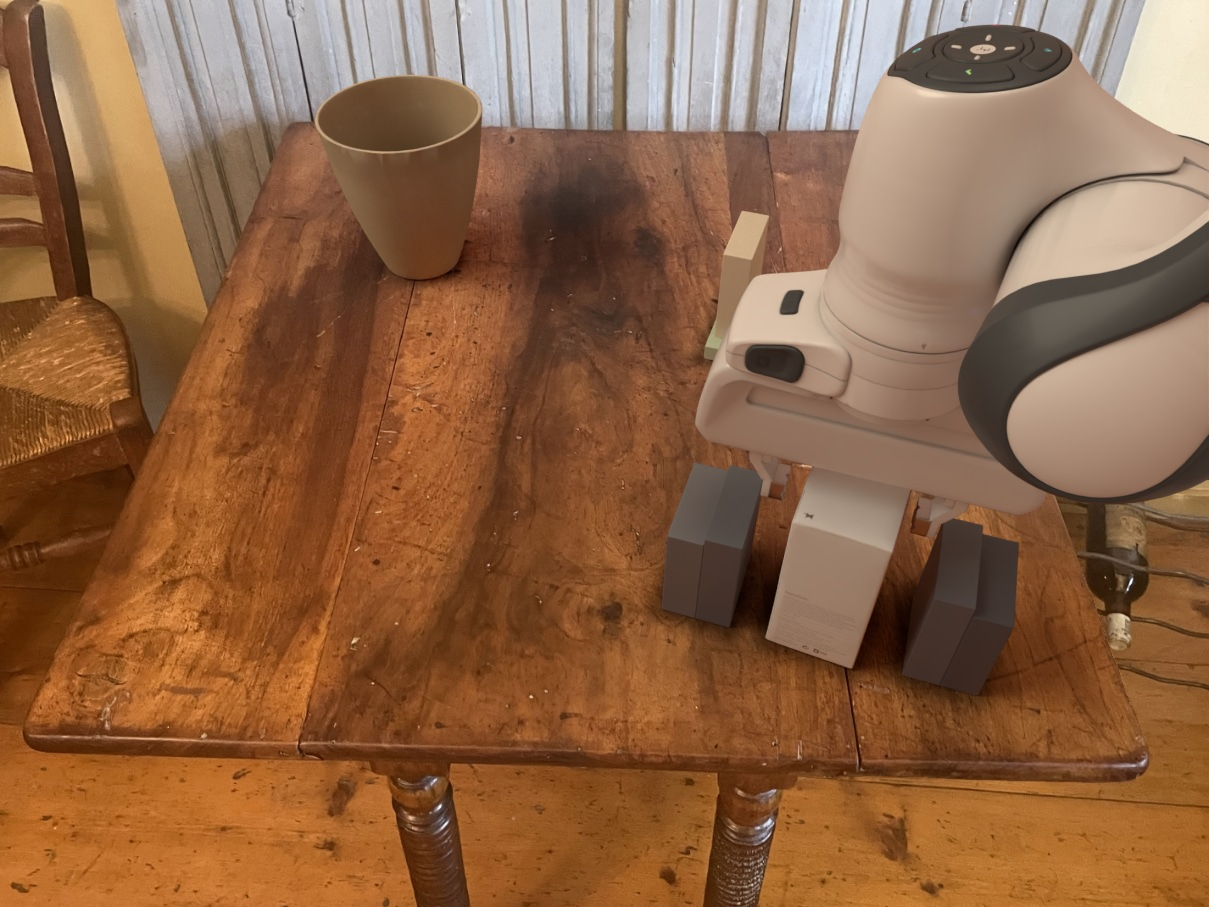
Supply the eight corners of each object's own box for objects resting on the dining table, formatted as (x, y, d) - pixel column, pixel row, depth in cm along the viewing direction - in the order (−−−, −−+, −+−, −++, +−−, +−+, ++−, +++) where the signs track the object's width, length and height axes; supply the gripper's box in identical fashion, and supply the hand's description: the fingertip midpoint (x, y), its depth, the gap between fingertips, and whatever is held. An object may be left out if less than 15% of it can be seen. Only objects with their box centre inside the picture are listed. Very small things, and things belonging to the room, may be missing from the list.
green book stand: (917, 332, 92) (945, 237, 85) (904, 402, 86) (933, 305, 78) (729, 294, 96) (740, 200, 88) (703, 358, 90) (712, 262, 82)
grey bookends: (984, 613, 70) (1023, 534, 64) (977, 696, 66) (1018, 620, 59) (686, 537, 75) (695, 456, 69) (661, 609, 71) (667, 529, 64)
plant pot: (524, 243, 102) (514, 96, 90) (436, 321, 93) (413, 170, 82) (410, 202, 107) (387, 59, 96) (317, 273, 98) (278, 124, 87)
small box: (852, 672, 67) (894, 554, 58) (763, 640, 69) (789, 521, 59) (878, 583, 72) (920, 461, 63) (794, 555, 74) (823, 433, 65)
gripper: (1101, 347, 52) (1018, 514, 62) (726, 270, 57) (705, 438, 67) (1103, 426, 48) (1014, 592, 58) (698, 337, 52) (680, 506, 62)
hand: (846, 509), depth 62 cm, fingers open, 8 cm apart
